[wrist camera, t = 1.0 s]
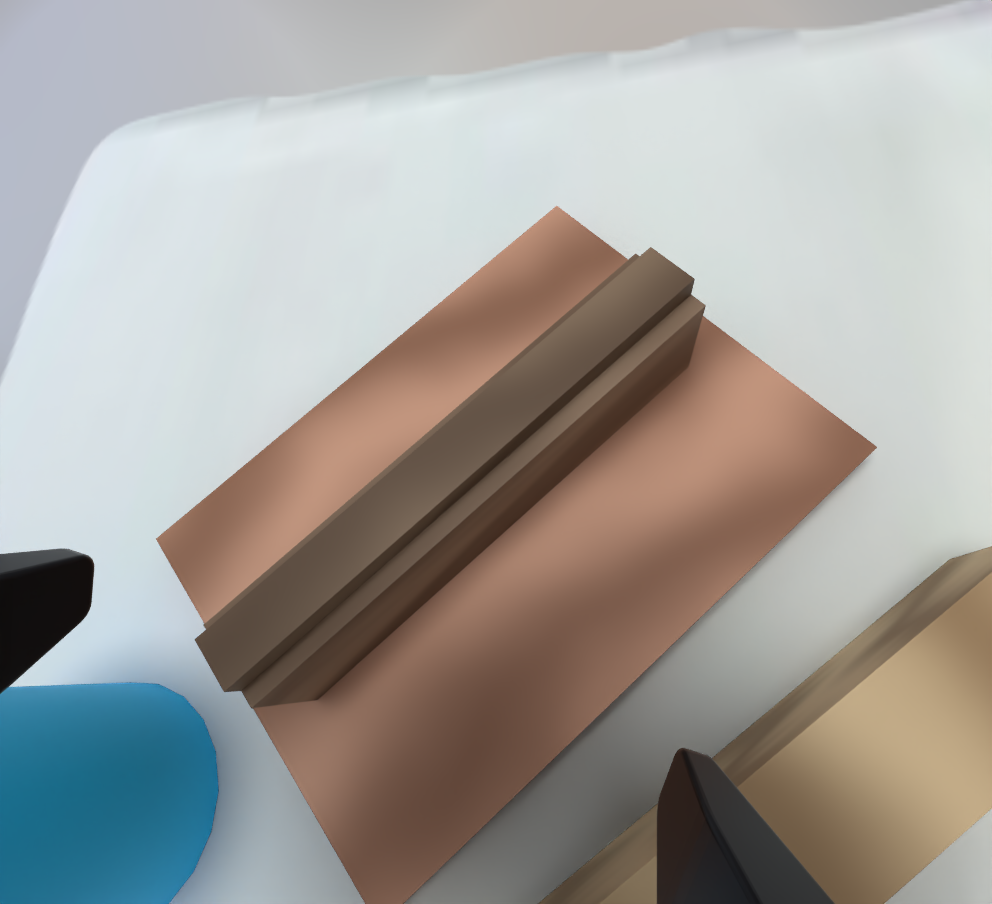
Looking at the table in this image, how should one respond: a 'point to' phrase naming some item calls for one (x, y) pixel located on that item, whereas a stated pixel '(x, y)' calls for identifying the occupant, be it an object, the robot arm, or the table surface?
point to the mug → (102, 793)
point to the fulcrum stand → (494, 538)
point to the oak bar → (858, 753)
